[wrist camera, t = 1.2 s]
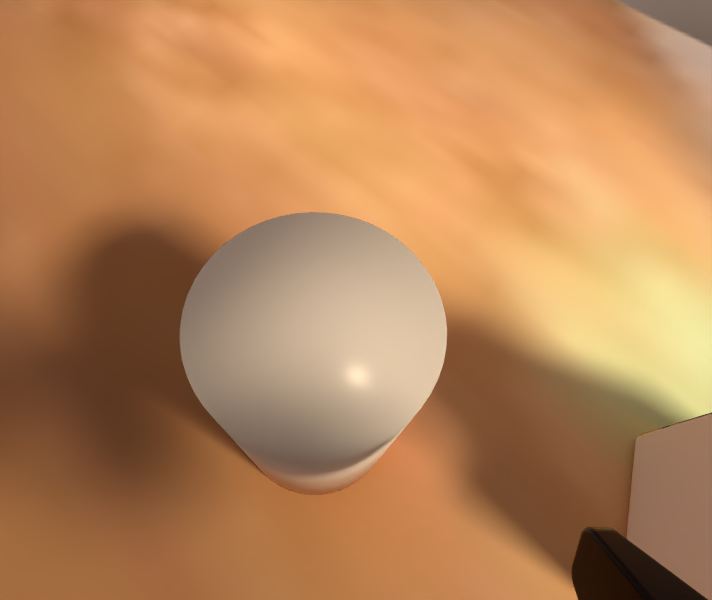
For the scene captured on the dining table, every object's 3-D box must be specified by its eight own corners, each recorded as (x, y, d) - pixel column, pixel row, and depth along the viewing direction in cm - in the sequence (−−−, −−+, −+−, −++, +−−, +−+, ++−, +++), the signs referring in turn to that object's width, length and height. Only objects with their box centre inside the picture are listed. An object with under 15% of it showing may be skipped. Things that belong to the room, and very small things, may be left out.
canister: (417, 437, 20) (500, 357, 11) (292, 528, 18) (266, 524, 9) (337, 324, 22) (351, 177, 13) (217, 396, 20) (134, 284, 11)
